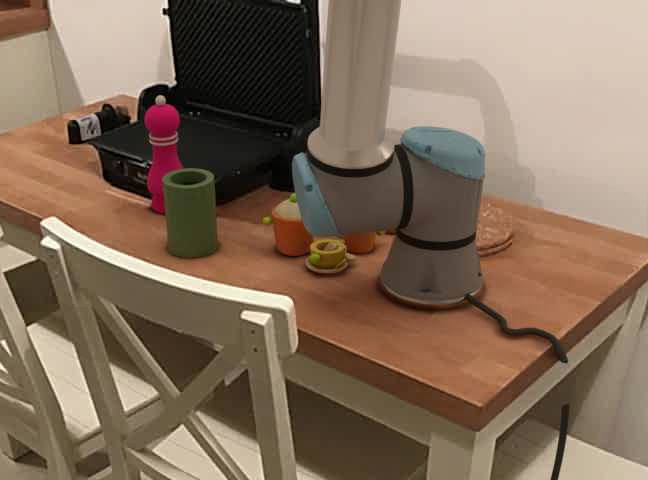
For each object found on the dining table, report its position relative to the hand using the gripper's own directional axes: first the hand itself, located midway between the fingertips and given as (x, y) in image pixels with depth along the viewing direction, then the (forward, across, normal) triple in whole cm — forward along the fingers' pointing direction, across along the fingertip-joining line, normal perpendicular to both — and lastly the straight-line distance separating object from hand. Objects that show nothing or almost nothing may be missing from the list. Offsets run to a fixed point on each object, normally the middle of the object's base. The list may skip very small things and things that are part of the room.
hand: (270, 6), depth 160 cm
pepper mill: (+25, +9, +29) cm, 39 cm away
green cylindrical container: (+19, -1, +42) cm, 46 cm away
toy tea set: (+18, -24, +34) cm, 45 cm away
